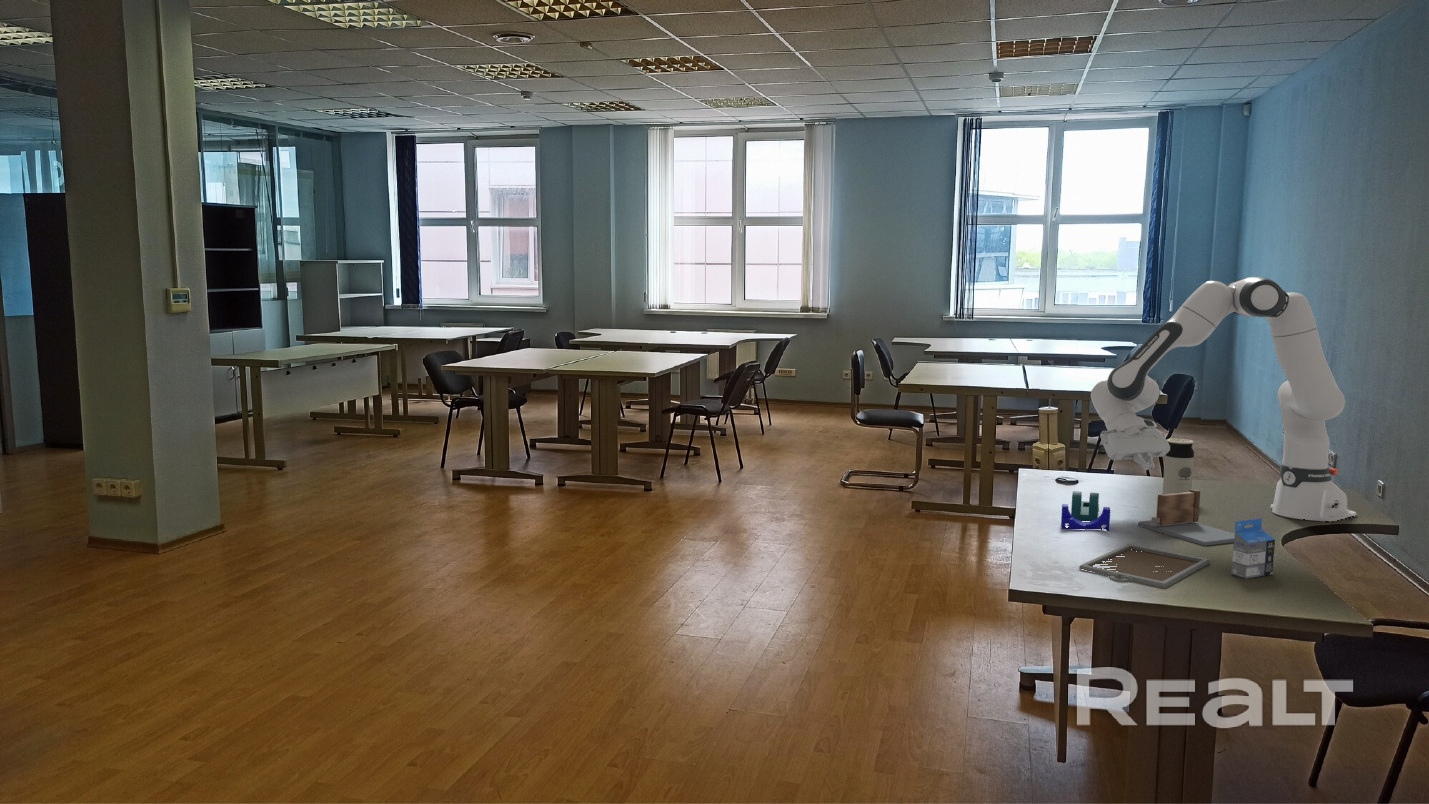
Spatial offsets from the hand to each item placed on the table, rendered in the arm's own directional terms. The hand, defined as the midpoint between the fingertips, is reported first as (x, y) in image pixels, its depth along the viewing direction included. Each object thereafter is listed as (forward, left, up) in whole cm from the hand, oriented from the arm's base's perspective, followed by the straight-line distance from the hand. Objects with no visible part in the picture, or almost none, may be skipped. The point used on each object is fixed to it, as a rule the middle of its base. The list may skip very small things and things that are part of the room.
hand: (1150, 468), depth 274 cm
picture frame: (+40, +39, -14) cm, 57 cm away
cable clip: (+27, +5, -14) cm, 31 cm away
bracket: (+16, -7, -14) cm, 22 cm away
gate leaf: (+4, +14, -12) cm, 19 cm away
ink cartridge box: (+21, +52, -14) cm, 57 cm away
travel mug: (-26, -14, -14) cm, 33 cm away
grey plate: (+4, +19, -14) cm, 23 cm away
